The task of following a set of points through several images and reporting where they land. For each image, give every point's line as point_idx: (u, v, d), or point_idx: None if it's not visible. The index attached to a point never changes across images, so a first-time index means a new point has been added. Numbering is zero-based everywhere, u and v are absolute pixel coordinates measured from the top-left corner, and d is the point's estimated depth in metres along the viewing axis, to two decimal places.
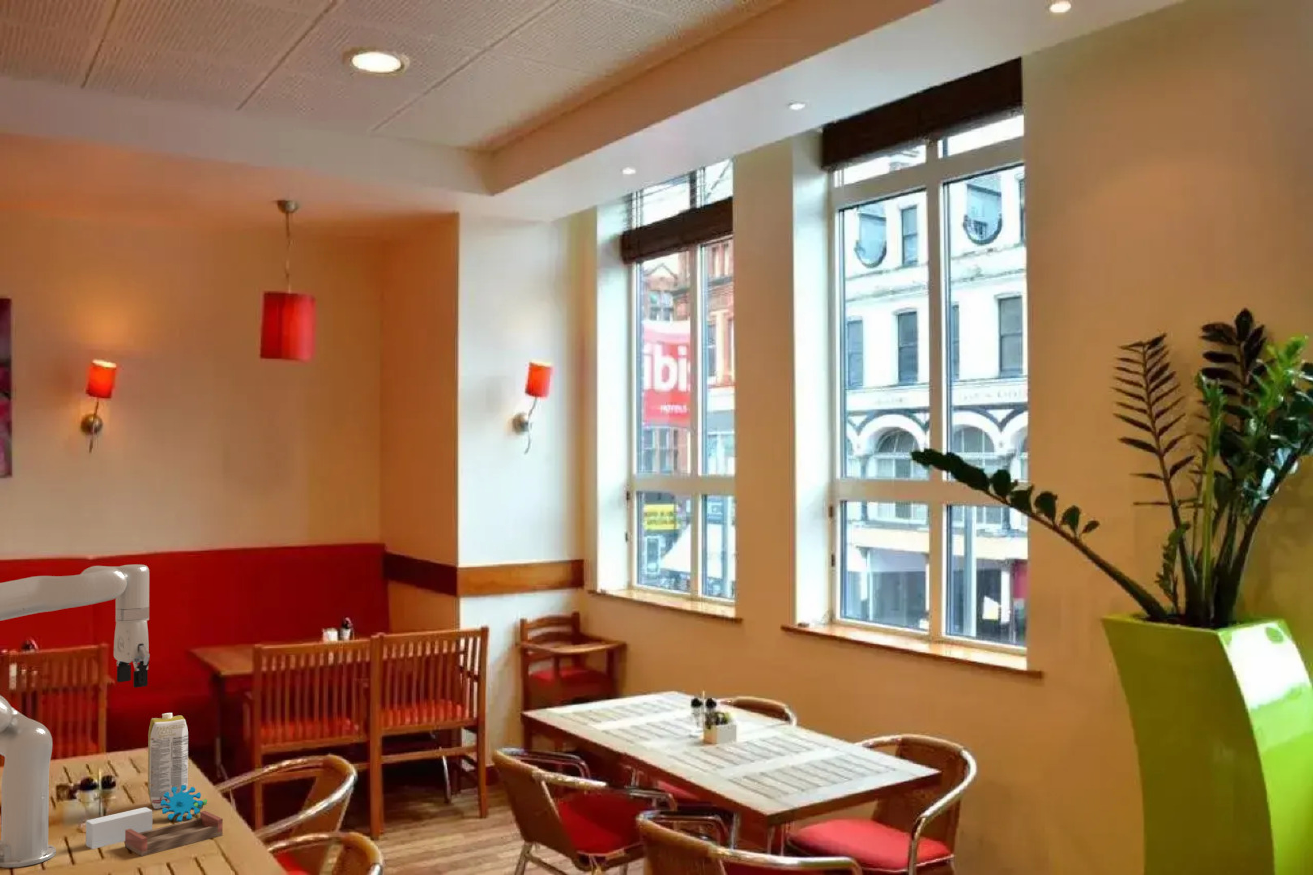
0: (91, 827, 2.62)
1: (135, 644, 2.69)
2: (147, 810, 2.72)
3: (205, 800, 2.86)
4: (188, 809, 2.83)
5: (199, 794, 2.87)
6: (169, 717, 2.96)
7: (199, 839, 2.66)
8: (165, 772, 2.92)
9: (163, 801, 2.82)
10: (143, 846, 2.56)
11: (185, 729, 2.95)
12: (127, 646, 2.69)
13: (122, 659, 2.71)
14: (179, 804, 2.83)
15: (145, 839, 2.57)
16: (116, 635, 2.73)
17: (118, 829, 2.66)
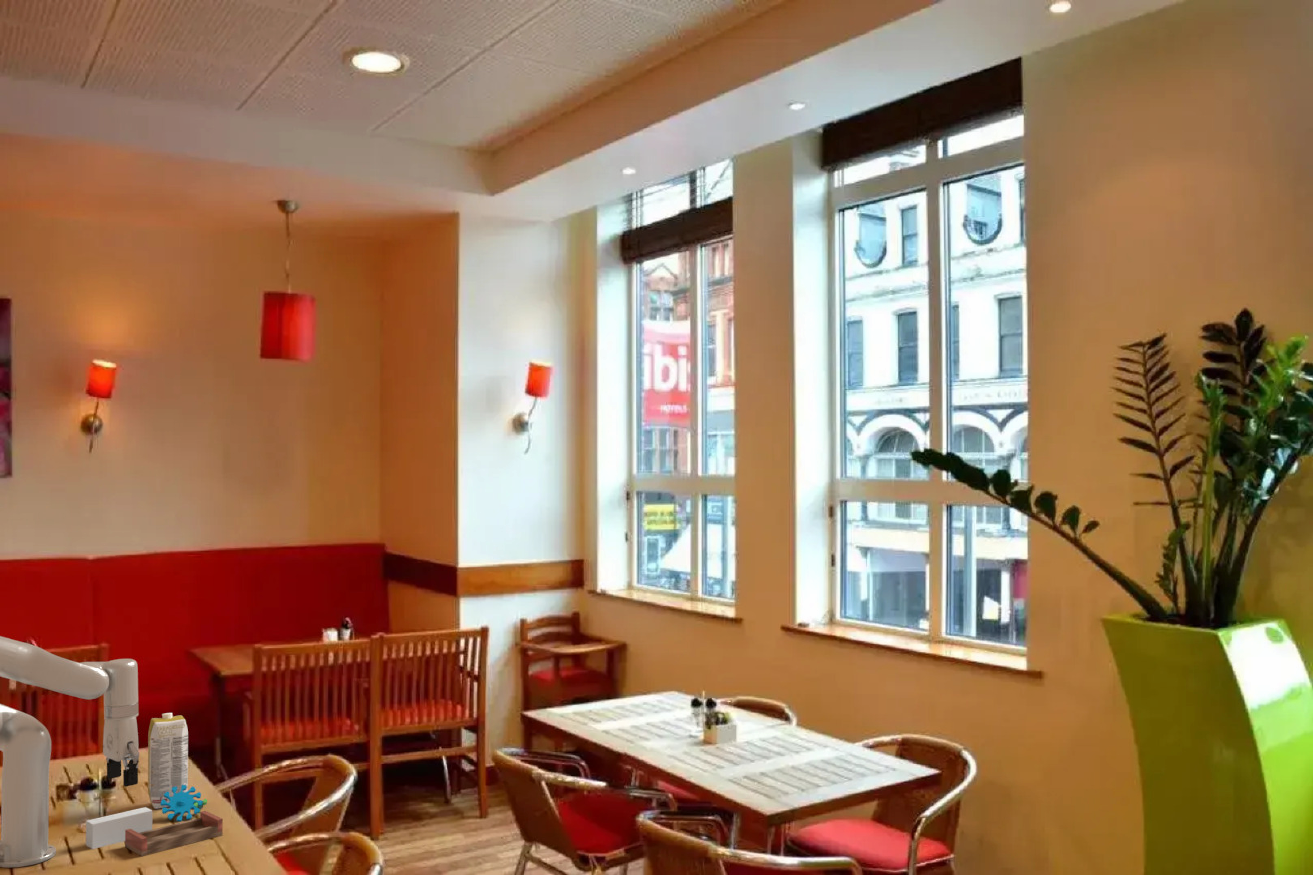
0: (91, 827, 2.62)
1: (124, 742, 2.64)
2: (147, 810, 2.72)
3: (205, 800, 2.86)
4: (188, 809, 2.83)
5: (199, 794, 2.87)
6: (169, 717, 2.96)
7: (199, 839, 2.66)
8: (165, 772, 2.92)
9: (163, 801, 2.82)
10: (143, 846, 2.56)
11: (185, 729, 2.95)
12: (116, 744, 2.64)
13: (111, 757, 2.65)
14: (179, 804, 2.83)
15: (145, 839, 2.57)
16: (105, 732, 2.68)
17: (118, 829, 2.66)
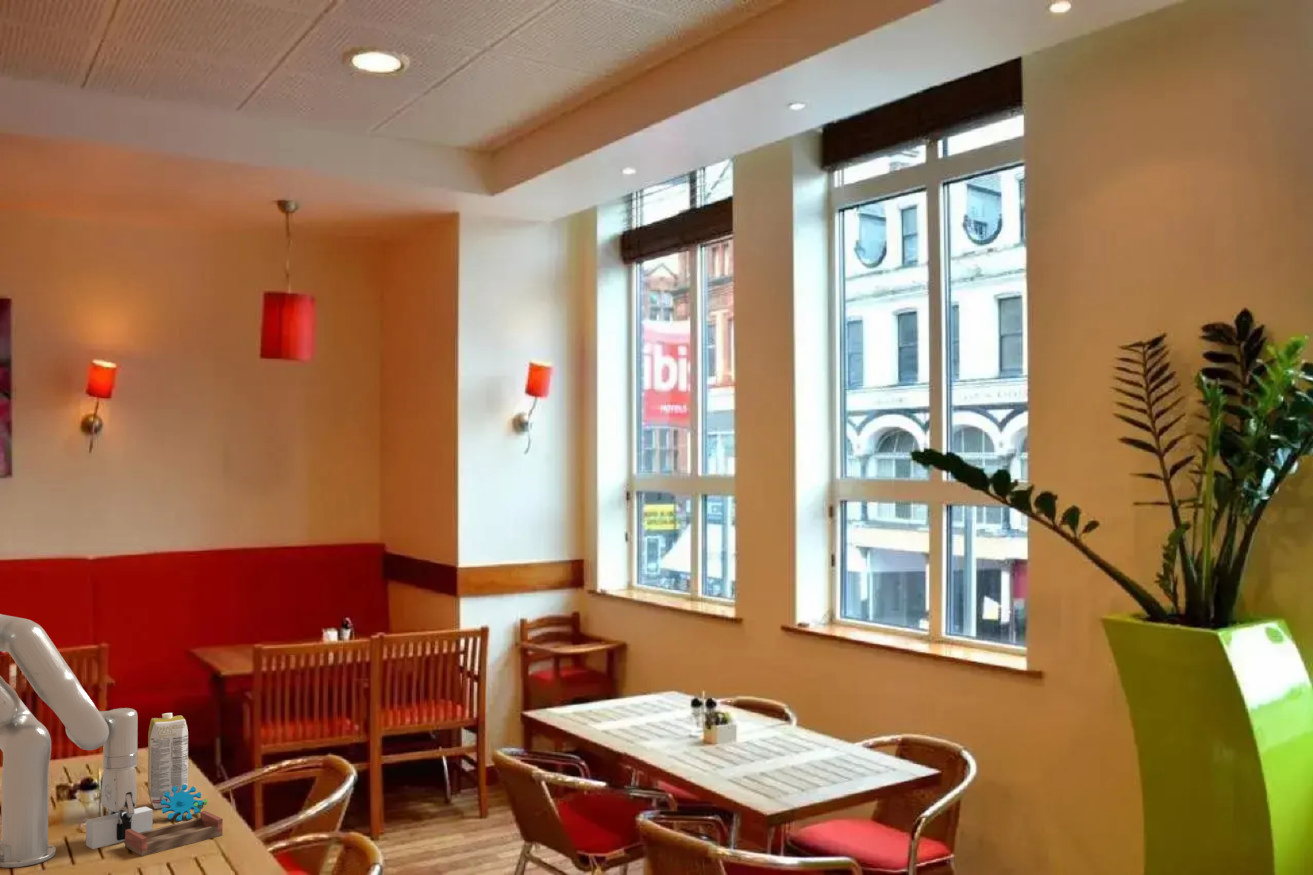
0: (91, 826, 2.62)
1: (123, 793, 2.64)
2: (147, 809, 2.72)
3: (205, 800, 2.86)
4: (188, 808, 2.83)
5: (199, 794, 2.87)
6: (169, 717, 2.96)
7: (199, 839, 2.66)
8: (165, 772, 2.92)
9: (163, 800, 2.83)
10: (143, 846, 2.56)
11: (185, 729, 2.95)
12: (115, 795, 2.63)
13: (109, 808, 2.65)
14: (179, 804, 2.83)
15: (145, 839, 2.57)
16: (104, 782, 2.68)
17: None
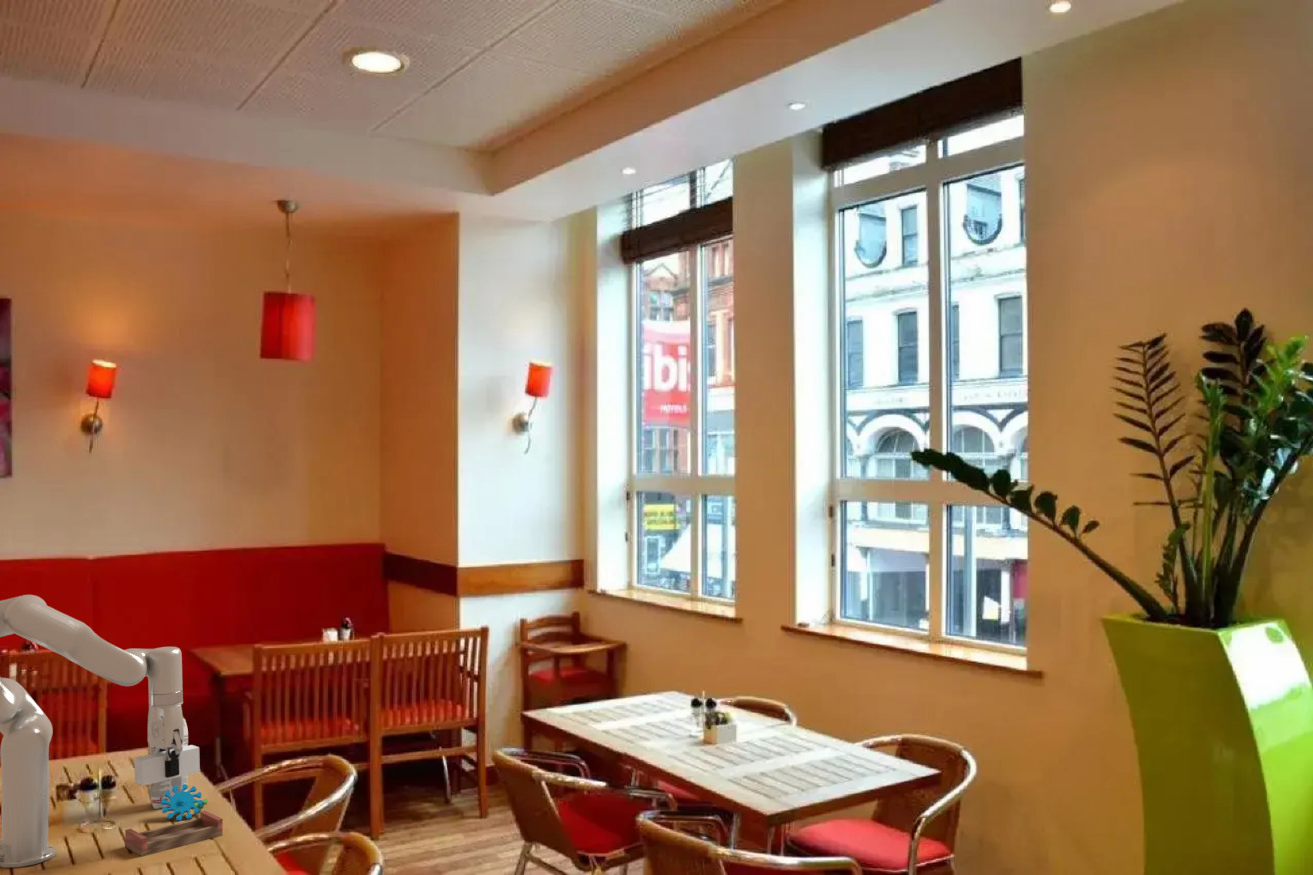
0: (140, 763, 2.61)
1: (170, 730, 2.63)
2: (194, 747, 2.71)
3: (205, 800, 2.87)
4: (188, 808, 2.84)
5: (200, 794, 2.87)
6: None
7: (199, 839, 2.66)
8: None
9: (163, 800, 2.83)
10: (143, 846, 2.56)
11: (185, 729, 2.95)
12: (162, 732, 2.63)
13: (157, 745, 2.65)
14: (179, 803, 2.84)
15: (145, 839, 2.57)
16: (150, 720, 2.67)
17: None
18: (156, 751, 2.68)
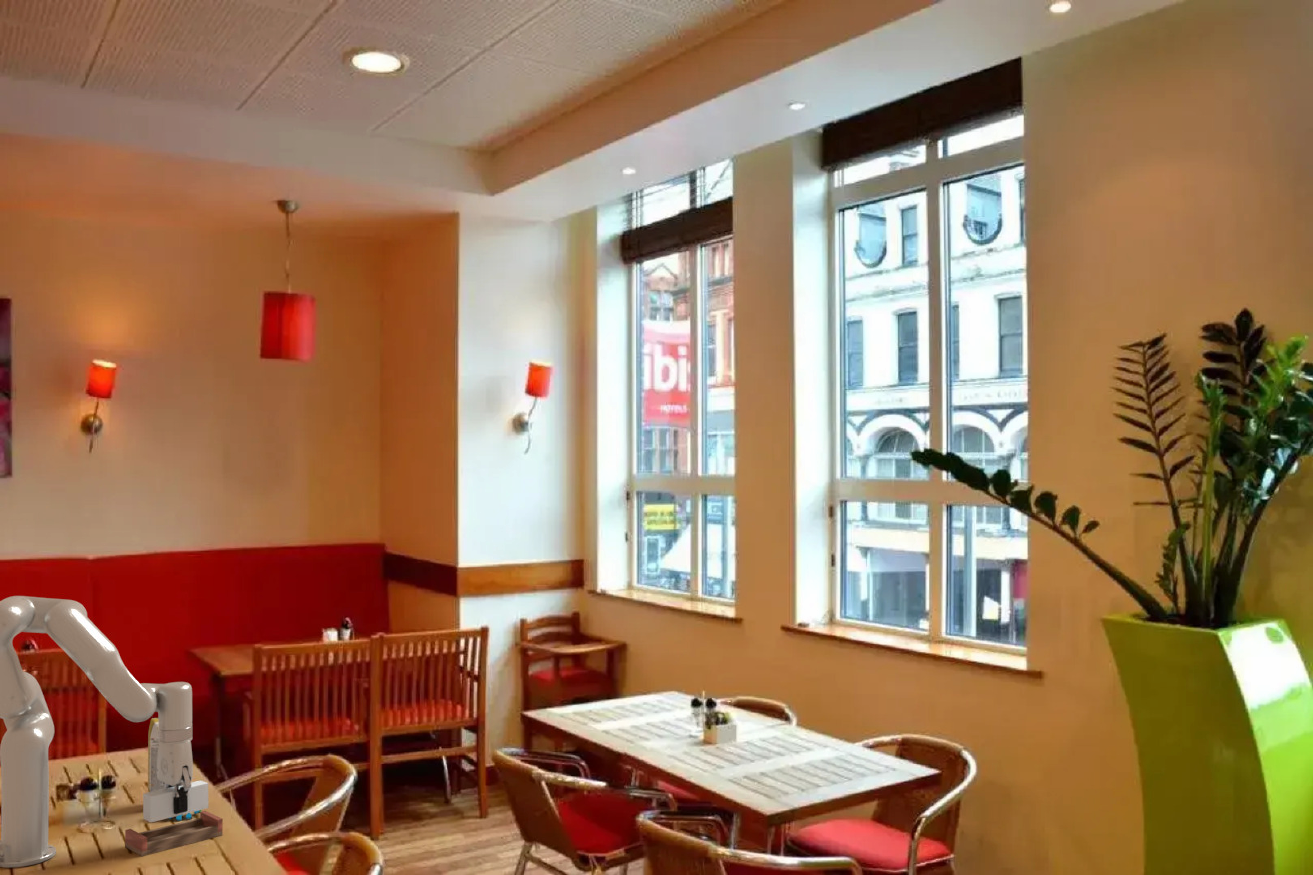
0: (149, 800, 2.61)
1: (179, 766, 2.63)
2: (203, 783, 2.71)
3: None
4: None
5: None
6: None
7: (199, 839, 2.66)
8: None
9: None
10: (143, 846, 2.56)
11: None
12: (171, 769, 2.62)
13: (166, 781, 2.64)
14: None
15: (145, 839, 2.57)
16: (159, 756, 2.67)
17: None
18: (165, 787, 2.68)
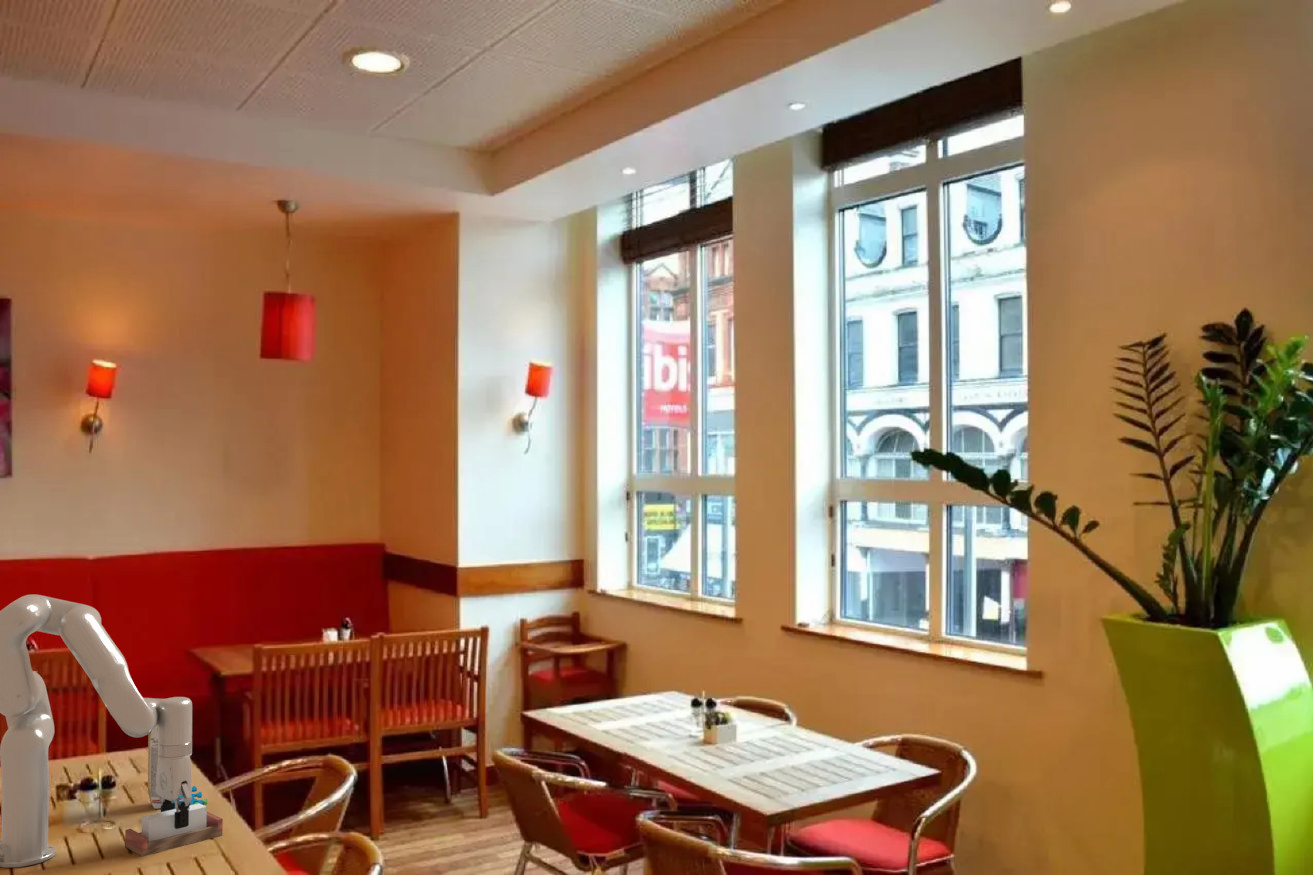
0: (147, 823, 2.61)
1: (178, 782, 2.62)
2: (201, 806, 2.71)
3: (206, 800, 2.87)
4: None
5: (200, 793, 2.87)
6: None
7: (199, 839, 2.66)
8: None
9: None
10: (143, 846, 2.56)
11: None
12: (170, 784, 2.62)
13: (165, 797, 2.64)
14: (179, 803, 2.84)
15: (145, 839, 2.57)
16: (158, 771, 2.67)
17: None
18: (161, 799, 2.68)
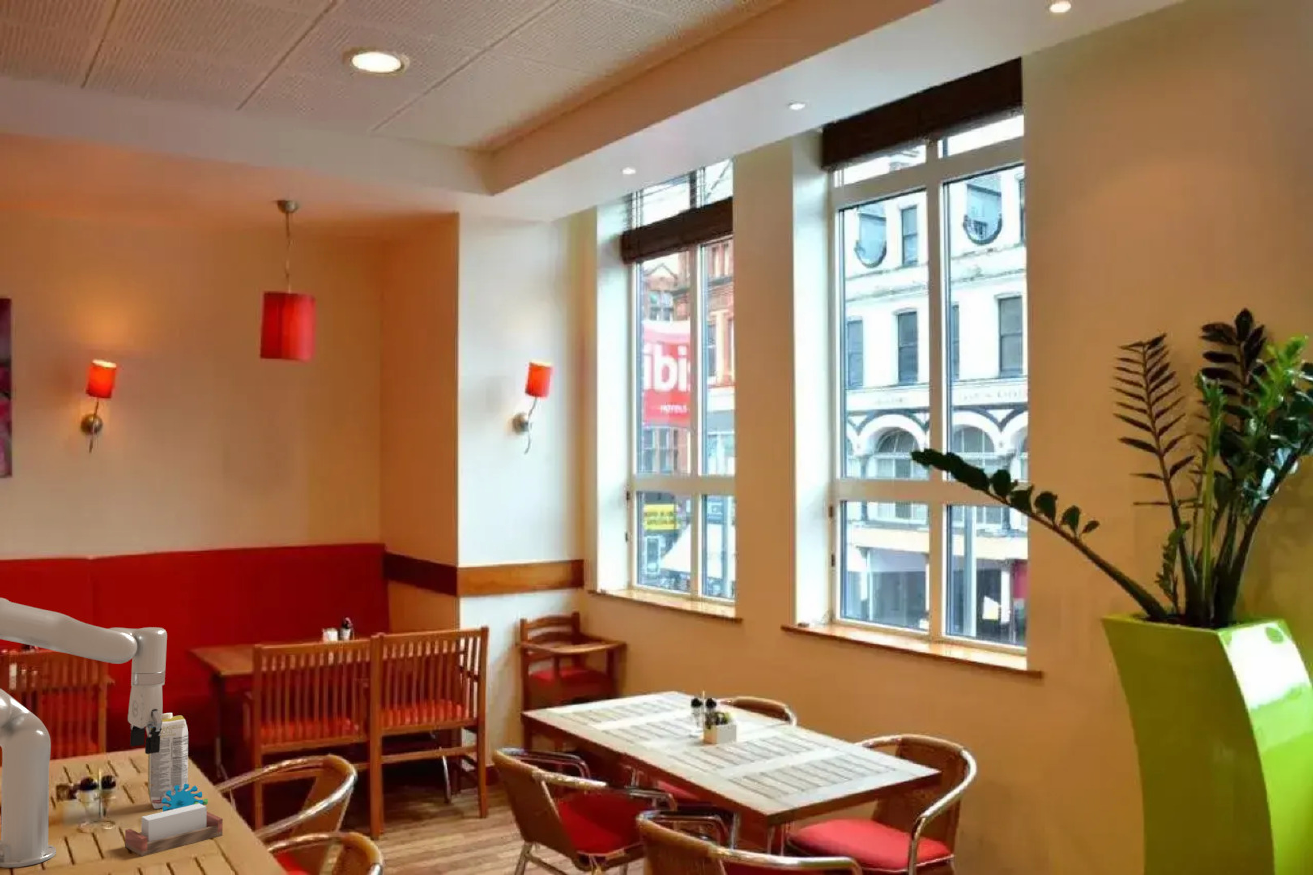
0: (147, 823, 2.61)
1: (149, 709, 2.66)
2: (201, 806, 2.71)
3: (206, 800, 2.87)
4: None
5: (200, 793, 2.88)
6: (169, 717, 2.96)
7: (199, 839, 2.66)
8: (165, 772, 2.92)
9: (164, 799, 2.84)
10: (143, 846, 2.56)
11: (185, 729, 2.95)
12: (141, 711, 2.66)
13: (135, 724, 2.67)
14: (179, 803, 2.84)
15: (145, 839, 2.57)
16: (131, 699, 2.71)
17: (174, 825, 2.65)
18: (132, 723, 2.73)
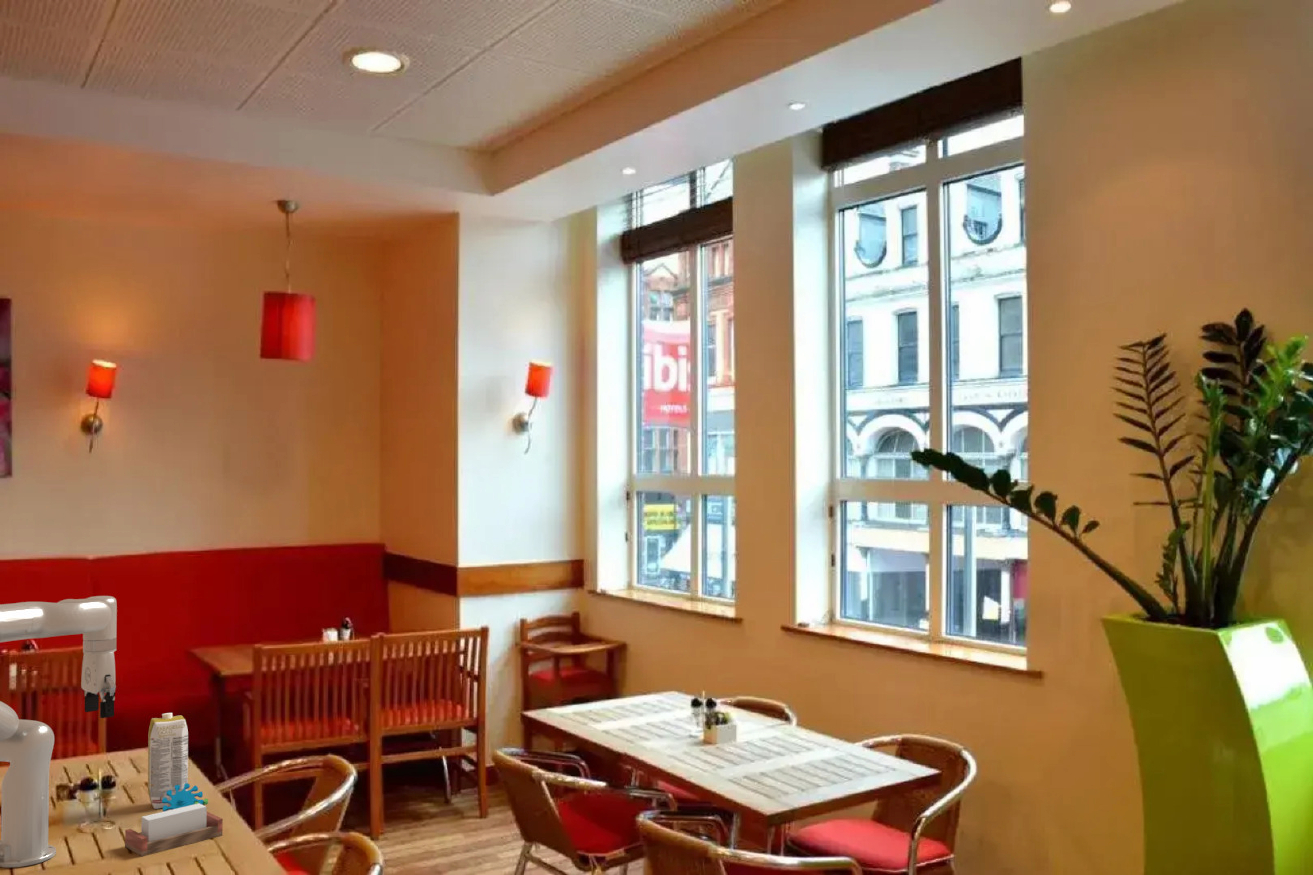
0: (147, 823, 2.61)
1: (102, 675, 2.73)
2: (201, 806, 2.71)
3: (206, 799, 2.87)
4: None
5: (201, 793, 2.88)
6: (169, 717, 2.96)
7: (199, 839, 2.66)
8: (165, 772, 2.92)
9: (164, 799, 2.84)
10: (143, 846, 2.56)
11: (185, 729, 2.95)
12: (94, 677, 2.73)
13: (89, 690, 2.74)
14: (180, 802, 2.84)
15: (145, 839, 2.57)
16: (83, 666, 2.77)
17: (174, 825, 2.65)
18: None
